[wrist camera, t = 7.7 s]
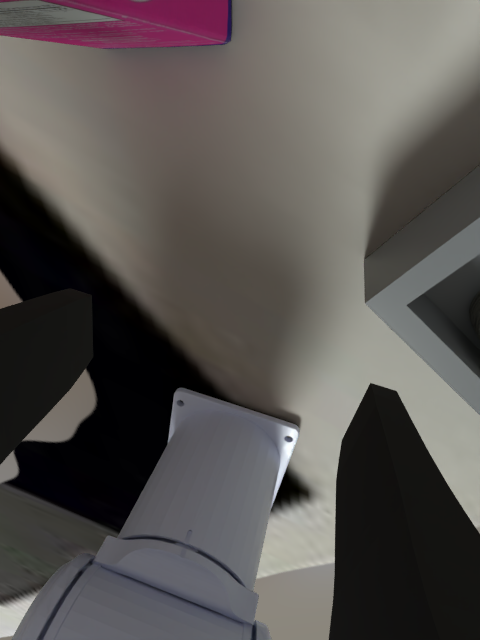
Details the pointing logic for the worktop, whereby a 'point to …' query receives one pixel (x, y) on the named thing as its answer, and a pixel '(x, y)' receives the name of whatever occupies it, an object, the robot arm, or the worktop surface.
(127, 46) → the supplement box
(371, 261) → the tub
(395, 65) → the worktop surface
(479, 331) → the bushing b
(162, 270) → the worktop surface
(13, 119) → the worktop surface
